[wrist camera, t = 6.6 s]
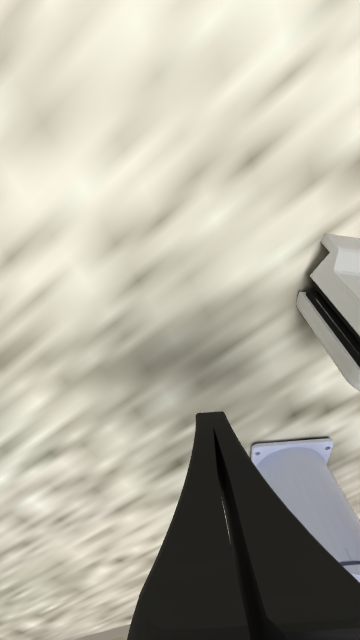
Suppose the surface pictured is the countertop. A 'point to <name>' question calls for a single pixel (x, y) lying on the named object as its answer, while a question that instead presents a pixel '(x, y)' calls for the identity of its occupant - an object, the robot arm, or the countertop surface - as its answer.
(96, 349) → the countertop surface
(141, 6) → the countertop surface
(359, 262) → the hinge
